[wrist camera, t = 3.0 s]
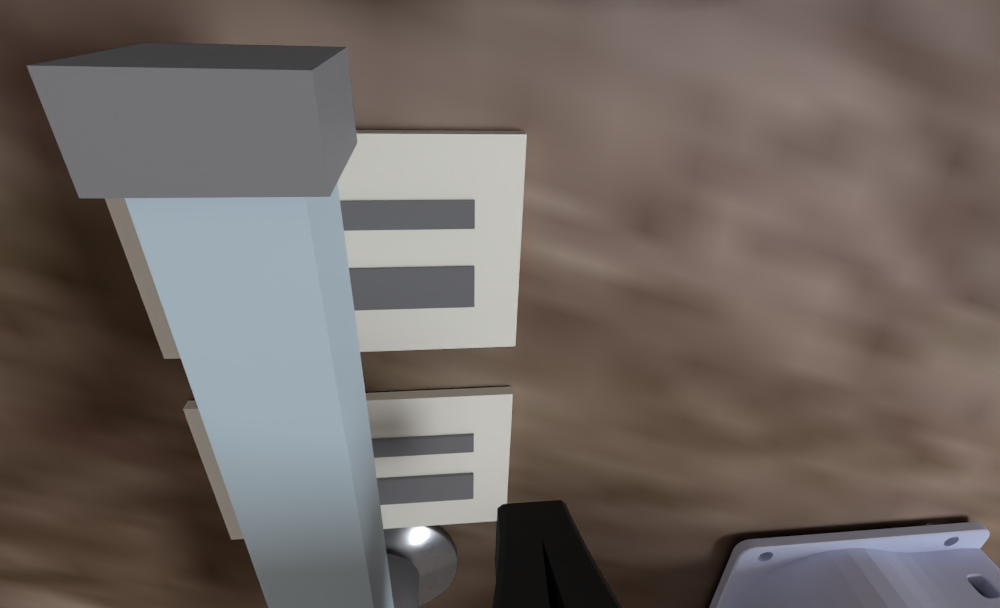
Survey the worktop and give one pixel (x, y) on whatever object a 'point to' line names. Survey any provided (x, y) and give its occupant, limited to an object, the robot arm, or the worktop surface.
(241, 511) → the bar
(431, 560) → the pivot base
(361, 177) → the psu label
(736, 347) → the worktop surface
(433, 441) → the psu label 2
